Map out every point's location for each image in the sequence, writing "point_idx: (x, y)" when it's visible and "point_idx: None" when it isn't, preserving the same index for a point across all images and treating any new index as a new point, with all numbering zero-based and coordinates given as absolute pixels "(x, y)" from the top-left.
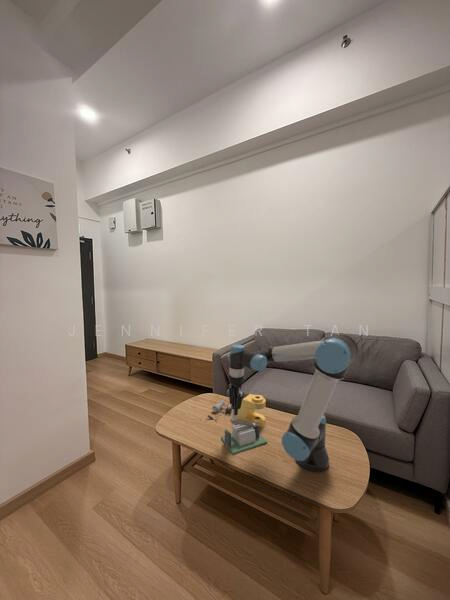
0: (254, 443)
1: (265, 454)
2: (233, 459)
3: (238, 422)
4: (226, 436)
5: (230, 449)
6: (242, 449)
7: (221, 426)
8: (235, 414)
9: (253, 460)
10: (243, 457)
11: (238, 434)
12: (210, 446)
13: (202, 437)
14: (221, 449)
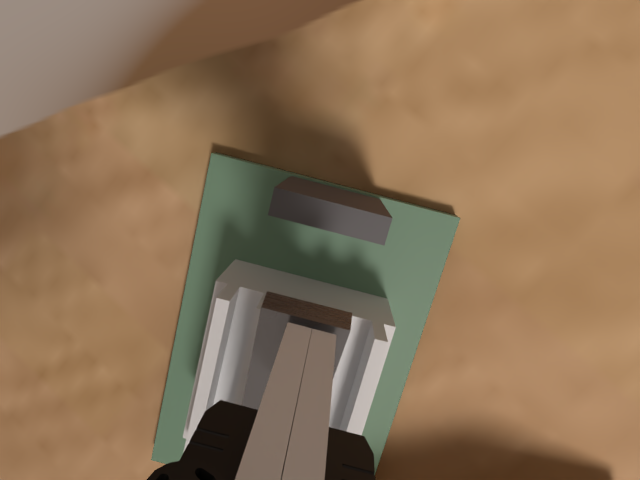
0: (192, 372)
1: (71, 349)
2: (169, 117)
3: (259, 385)
4: (343, 197)
5: (258, 165)
6: (193, 245)
7: (592, 334)
8: (202, 416)
9: (70, 235)
10: (140, 198)
11: (260, 303)
12: (434, 60)
13: (601, 79)
14: (332, 117)
